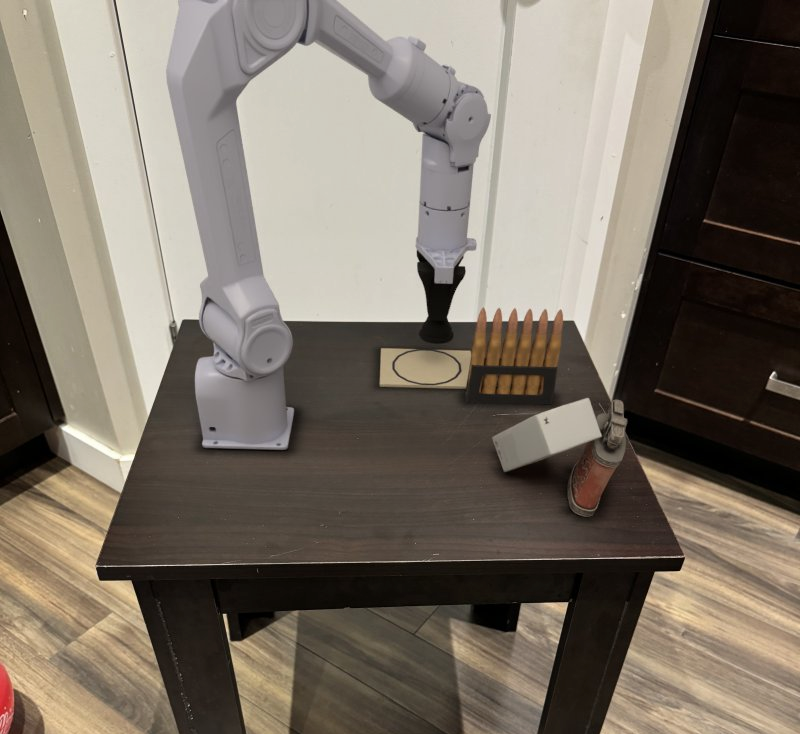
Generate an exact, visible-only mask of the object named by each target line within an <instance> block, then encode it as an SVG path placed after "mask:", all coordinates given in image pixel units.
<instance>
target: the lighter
mask: <svg viewBox="0 0 800 734" xmlns="http://www.w3.org/2000/svg"><path fill="white" fill-rule="evenodd" d="M607 411H608V412H607V413H606V412H605V413H604V412H601V413H598V415H597V416H596V420H597V423H598V427H599V430H600V432H601V435H602V437H600V438H598V439H595V440H593V441H590V442H587V443H585V444H586V445H585V446H584V449H583V451H582V453H581V454H580V457H579V459H578V461H576V463H574V465H573V467H572V470H571V472H570V475H569V477H568V482H567V499H568V504H569V507H570V509H571V511H572V512H573V513H575V514H577V515H579V516H581V517H585V518H587V517H592V516H593V515H594V514H595V513H596V511H597V508H598V507H599V504H600V500H601V496H602V495H603V492H604V491H605V489H606V487H607V485H608V483H609V481H610V480H611V477H612V476H613V474H614V472H615V470H616V469H617V467H619V466H620V464H621V463H622V461H623V457H624V455H625V452H626V447H627V437H626V428H627V425H628V418H625V417H624V412H625V409H624V402H623V401H622V400H619V399H614V400H612V402H611V403H610V405H609V408H608V410H607Z"/></svg>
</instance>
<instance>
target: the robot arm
mask: <svg viewBox="0 0 800 734" xmlns="http://www.w3.org/2000/svg"><path fill="white" fill-rule="evenodd" d="M177 3H178V4H177V5H178V11H177V16H176V21H175V24H174V31H173V35H172V40H171V44H170V49H169V54H168V58H167V64H166V69H165V75H166V84H167V90H168V95H169V98H170V99H169V100H170V103H171V109H172V111H173V112H172V113H173V117H174V122H175V127H176V132H177V136H178V141H179V145H180V150H181V155H182V159H183V165H184V169H185V173H186V178H187V183H188V188H189V192H190V196H191V201H192V202H191V203H192V206H193V210H194V216H195V220H196V225H197V230H198V235H199V239H200V245H201V248H202V249H201V250H202V253H203V257H204V262H205V267H206V272H207V277H205V278H204V279H203V280H201V282H200V284H199V288H200V294H201V305H200V308H199V312H198V323H199V326H200V329H201V331H202V333H203V334H204V336H205V337H207V338H208V339H209V340H210V341H211V342H212V344H213V355H211V356H203V357H200V358H198V360H197V362H196V366H195V371H194V372H195V373H194V392H195V400H196V405H197V411H198V417H199V423H200V429H201V435H202V443H201V446H202V447H203V448H205V449H229V450H230V449H234V450H235V449H237V450H271V451H272V450H275V451H286V450H287V449H288V448H289V443H290V437H291V433H292V427H293V421H294V415H295V408H293V407H290V406H287V400H286V386H285V375H284V365H286V363H287V362H288V360H289V358H290V356H291V354H292V351H293V346H294V339H293V335H292V331H291V329H290V328H289V326H288V325H287V324H286V323H285V321H284V319H283V318H282V314H281V311H280V304H279V301H278V300H277V298H276V296H275V293H274V292H273V290H272V289H271V287H270V284H268V282H267V280H266V277H265V275H264V270H263V263H262V257H261V251H260V244H259V237H258V232H257V226H256V219H255V214H254V213H255V212H254V207H253V200H252V194H251V188H250V182H249V175H248V169H247V163H246V155H245V152H244V151H245V149H244V144H243V139H242V132H241V125H240V120H239V119H240V118H239V113H238V107H237V101H238V99H239V96H240V95H241V94H242V93H243V91H244V90H245V89H246V88H247V86H248V85H249V83H250V82H251V81H252V80H253V79H254V78H256V77H257V76H259V75H260V74H262V73H263V72H264V71H266V69H268V68H269V67H270V66H272V65H273V64H274V63H276V62H277V61H279V60H280V59H282V58H283V57H284V56H285V55H287V54H288V53H289V52H290V51H291V50H292V49H293V48H294V47H295V46H296V45H297V44H299V45H302V46H304V47H308V46H311V45H312V44H313V43H315V44H317V45H318V46H320V47H321V48H323V49H325V50H326V51H328V52H330V53H331V54H333V55H334V56H336V57H337V58H339V59H340V60H342V61H344V62H346V63H347V64H349V65H351V66H352V67H353V68H355V69H357V70H359V71H360V72H362V73H363V74H365V75H367V81H368V88H369V91H370V93H371V95H372V96H373V97H374V99H376V100H377V101H379V102H381V103H382V104H383V105H385V106H386V107H388V108H390V109H391V110H393V112H395V113H397V114H399V115H400V116H402V118H405V119H406V120H408V121H409V122H411V123H412V125H413V127H414V129H415V131H416V132H418V133H422V138H421V139H422V140H421V161H420V179H419V200H418V222H417V223H418V224H417V236H416V238H415V248H416V257H417V260H418V261H417V262H416V269H417V270H416V271H417V274H418V276H419V279H420V281H421V283H422V286H423V290H424V294H425V302H426V312H427V317H429V320H432V321H446V318H447V319H448V315H449V313H450V311H451V306H452V302H453V300H454V296H455V293H456V291H457V289H458V287H459V285H460V284H461V282H462V281H463V280H464V278H465V276H466V272H467V270H466V266H465V265H460V264H461V263H462V261H463V259H464V257H465V254H466V253H467V252H468V251H469V252H470V251H471V252H473V251H476V250H477V239H475V238H472V237H468V229H469V219H470V208H471V199H472V198H471V197H472V188H473V178H474V176H473V175H474V167H475V166H474V164H475V163H476V161H477V158H478V157H479V153H480V151H479V150H480V146H481V143H482V140H483V139H484V137H485V136H486V133H487V131H488V129H489V126H490V123H491V118H492V114H491V113H489V111H488V105H487V101H486V100H485V96H484V93H482V91H481V90H480V89H479V88H477V87H476V86H474V85H471V84H468V83H464V82H462V81H459V80H458V79H457V77H456V73H457V72H456V69H455V68H453V67H452V66H451V65H448V64H445V63H443V64H440V63H438V62H437V61H436V60H434V59H433V58H432V57H431V56H429V55H428V54H426V52H425V51H426V48H427V44H426V43H425V42H423V41H422V40H421V39H420V38H417V37H414V36H411V35H409V36H408V37H407V38H406V37H404V36H396V37H392V38H390V39H388V40H385V39H383V38H382V36H380V35H379V34H378V33H377V32H375V31H374V30H373V29H372V28H371V27H369V26H368V25H367V24H366V23H364V22H363V21H362V20H361V19H359V18H358V17H357V16H356V15H355V14H354V13H352V11H350V10H349V9H348V8H347V7H346V6H344V5H343V4H342V3H341V2H339V1H338V0H177Z"/></svg>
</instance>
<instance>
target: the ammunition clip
mask: <svg viewBox="0 0 800 734" xmlns="http://www.w3.org/2000/svg"><path fill="white" fill-rule="evenodd" d="M517 311H518V310H517V309H516V307H514V308H513V309H512V310H511V313H510V315H509V317H508V321H507V325H506V330H505V336H504V338H503V342H502V330H503V313H502V309H501V307H497V309H496V311H495V312H494V316H493V318H492V322H491V329H490V333H489V338H488V341H487V325H488V324H487V323H488V322H487V321H488V319H487V318H488V317H487V311H486V309H485V307H482V308H481V309H480V311H479V314H478V317H477V320H476V324H475V325H476V326H475V331H474V337H473V339H472V344H471V361H470V367H469V373H468V379H467V385H466V389H465V392H464V397H465V402H466V403H481V404H483V403H485V404H527V405H528V404H529V405H530V404H531V405H532V404H533V405H551V404H553V403H554V396H555V388H556V382H557V375H558V364H559V359H560V353H561V348H562V337H563V335H562V334H563V328H564V314H563V313H564V312H563V310H562V309H559V310H558V311H557V313H556V315H555V317H554V319H553V323H552V327H551V331H550V334H549V337H548V340H547V336H548V326H549V316H548V310H547V308H544V310H543V311H542V312H541V314H540V316H539V319H538V322H537V325H536V331H535V335H534V338H533V340H532V337H533V336H532V335H533V324H534V317H533V310H532V308H528V310H527V312H526V313H525V315H524V318H523V321H522V326H521V330H520V335H519V338H518V341H517V335H518V325H519V324H518V323H519V322H518V321H519V318H518V312H517Z"/></svg>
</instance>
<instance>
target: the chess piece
mask: <svg viewBox="0 0 800 734" xmlns="http://www.w3.org/2000/svg"><path fill="white" fill-rule="evenodd" d="M418 336H419V338H420V340H422V341H423V342H426V343H428V344H433V345H440V344H441V345H442V344H447V343H449V342H451V341H452V340H453V339H454V336H455V335H454V331H453V327H452V325H451V324H450V321H449V319H448V317H447V318H446V321H432V320H429V317H428V316H427V317H426V319H425V321H424V322H423V324H421V327H420V329H419V331H418Z"/></svg>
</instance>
